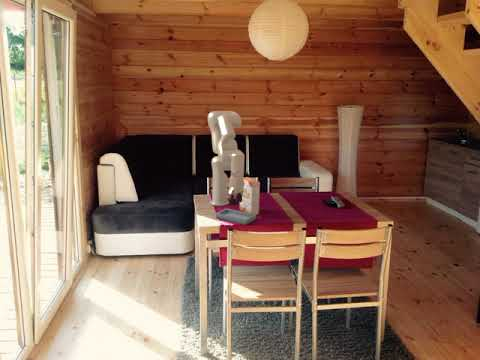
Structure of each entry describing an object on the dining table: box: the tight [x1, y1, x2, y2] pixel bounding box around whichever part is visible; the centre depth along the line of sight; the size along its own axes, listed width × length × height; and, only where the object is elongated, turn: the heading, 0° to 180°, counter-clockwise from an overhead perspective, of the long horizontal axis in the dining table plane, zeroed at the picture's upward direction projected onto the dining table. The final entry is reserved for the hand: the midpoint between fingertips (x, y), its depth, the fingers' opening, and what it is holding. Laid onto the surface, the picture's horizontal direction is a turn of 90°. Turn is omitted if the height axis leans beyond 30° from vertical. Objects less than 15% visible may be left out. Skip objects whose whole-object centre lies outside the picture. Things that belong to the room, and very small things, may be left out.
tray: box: [215, 208, 257, 226], centre depth 269 cm, size 12×21×3 cm, turn 59°
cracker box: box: [239, 176, 261, 216], centre depth 280 cm, size 14×6×21 cm, turn 31°
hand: (236, 203), depth 267 cm, fingers open, 6 cm apart
